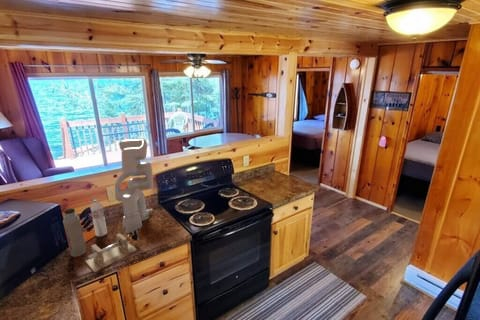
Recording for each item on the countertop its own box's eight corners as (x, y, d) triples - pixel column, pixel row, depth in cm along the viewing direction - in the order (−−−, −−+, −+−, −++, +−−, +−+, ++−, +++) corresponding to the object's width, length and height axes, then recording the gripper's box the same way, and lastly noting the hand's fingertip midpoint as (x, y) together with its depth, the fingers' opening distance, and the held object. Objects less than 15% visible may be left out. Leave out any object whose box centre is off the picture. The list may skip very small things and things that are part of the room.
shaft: (129, 239, 158) (128, 233, 156) (132, 242, 155) (131, 236, 154) (87, 259, 140) (86, 252, 139) (91, 262, 138) (89, 256, 136)
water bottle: (93, 236, 168) (86, 201, 161) (101, 230, 174) (95, 197, 167) (101, 237, 166) (95, 203, 159) (109, 232, 172) (103, 198, 165)
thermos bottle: (72, 258, 147) (61, 215, 139) (69, 251, 153) (59, 209, 144) (87, 252, 152) (78, 210, 143) (85, 246, 158) (76, 205, 149)
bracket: (126, 242, 161) (124, 229, 158) (136, 250, 154) (134, 236, 151) (85, 262, 144) (82, 248, 141) (94, 272, 136) (91, 257, 133)
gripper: (139, 206, 161) (142, 231, 166) (115, 216, 149) (120, 242, 155) (145, 210, 156) (149, 235, 162) (122, 220, 145) (126, 247, 151)
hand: (134, 239), depth 159 cm, fingers closed
